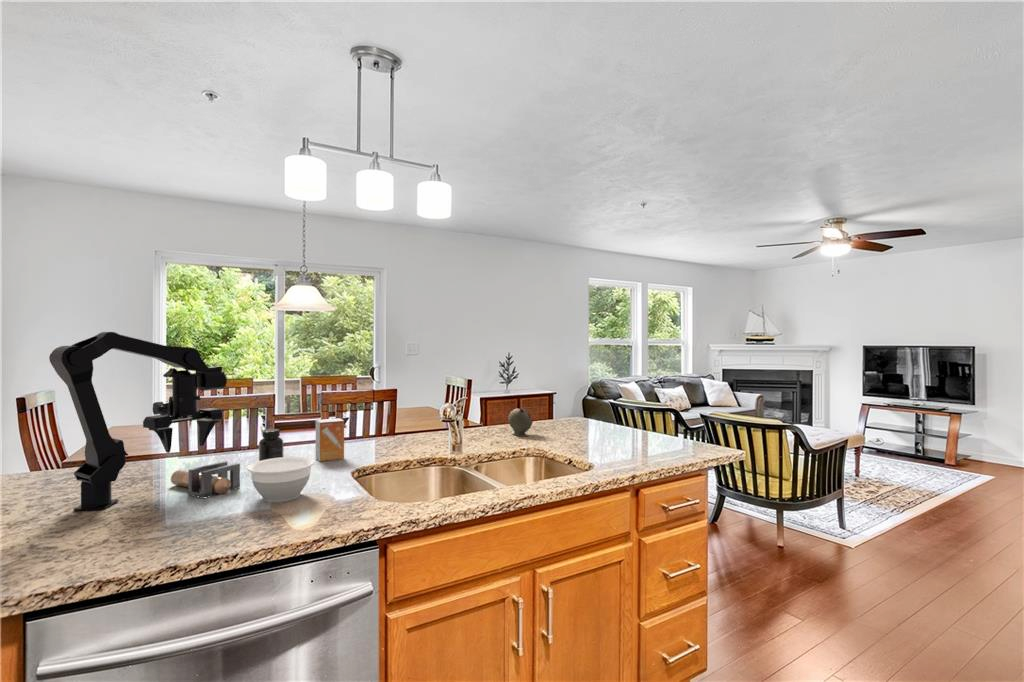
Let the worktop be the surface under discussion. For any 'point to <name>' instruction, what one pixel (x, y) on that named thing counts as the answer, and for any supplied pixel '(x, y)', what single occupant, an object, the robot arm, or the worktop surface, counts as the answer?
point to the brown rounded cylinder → (182, 479)
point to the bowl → (280, 477)
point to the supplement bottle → (270, 445)
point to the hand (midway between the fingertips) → (185, 449)
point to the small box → (329, 439)
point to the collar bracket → (207, 474)
